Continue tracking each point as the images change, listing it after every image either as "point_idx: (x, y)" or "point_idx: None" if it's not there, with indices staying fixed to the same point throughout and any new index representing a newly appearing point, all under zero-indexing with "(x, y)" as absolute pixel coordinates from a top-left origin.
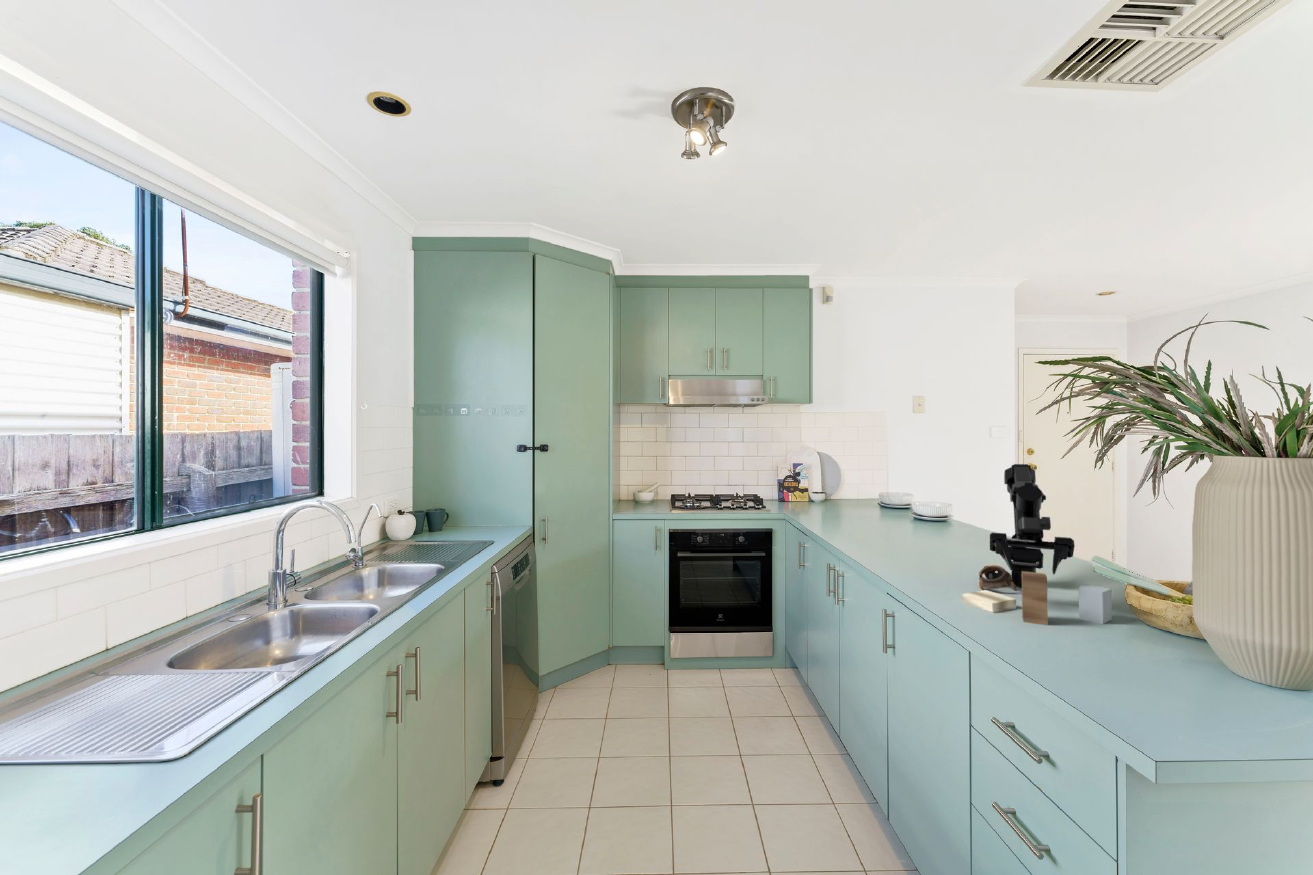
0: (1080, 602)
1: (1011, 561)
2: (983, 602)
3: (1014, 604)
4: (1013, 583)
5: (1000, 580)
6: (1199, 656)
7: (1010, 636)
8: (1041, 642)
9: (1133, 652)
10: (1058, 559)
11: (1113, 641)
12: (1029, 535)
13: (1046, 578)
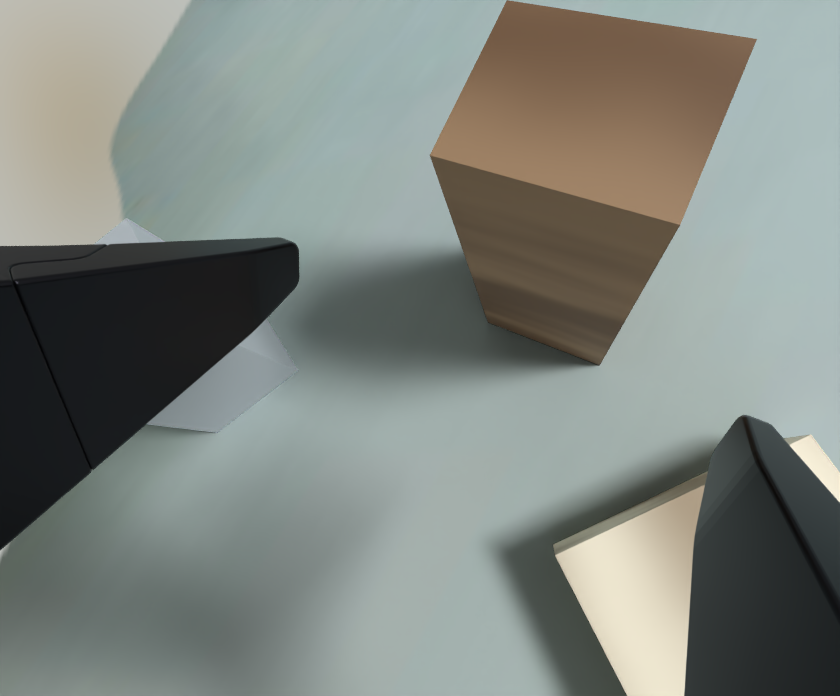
0: (245, 341)
1: (771, 483)
2: None
3: (569, 541)
4: None
5: None
6: (193, 24)
7: (821, 46)
8: (686, 9)
9: (368, 2)
10: (85, 248)
11: (361, 92)
12: None
13: (512, 12)
